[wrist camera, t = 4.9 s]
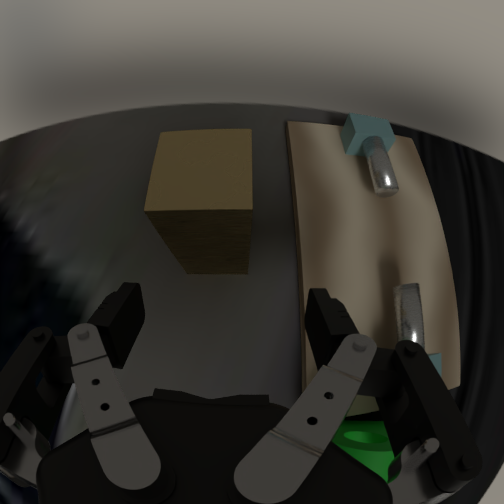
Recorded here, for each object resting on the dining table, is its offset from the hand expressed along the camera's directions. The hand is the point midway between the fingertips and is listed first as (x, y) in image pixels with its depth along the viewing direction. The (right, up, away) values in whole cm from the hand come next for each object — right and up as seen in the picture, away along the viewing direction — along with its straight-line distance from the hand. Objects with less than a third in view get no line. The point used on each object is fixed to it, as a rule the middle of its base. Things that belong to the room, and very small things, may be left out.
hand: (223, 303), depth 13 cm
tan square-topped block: (-1, +3, +8) cm, 9 cm away
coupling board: (+12, +2, +9) cm, 15 cm away
